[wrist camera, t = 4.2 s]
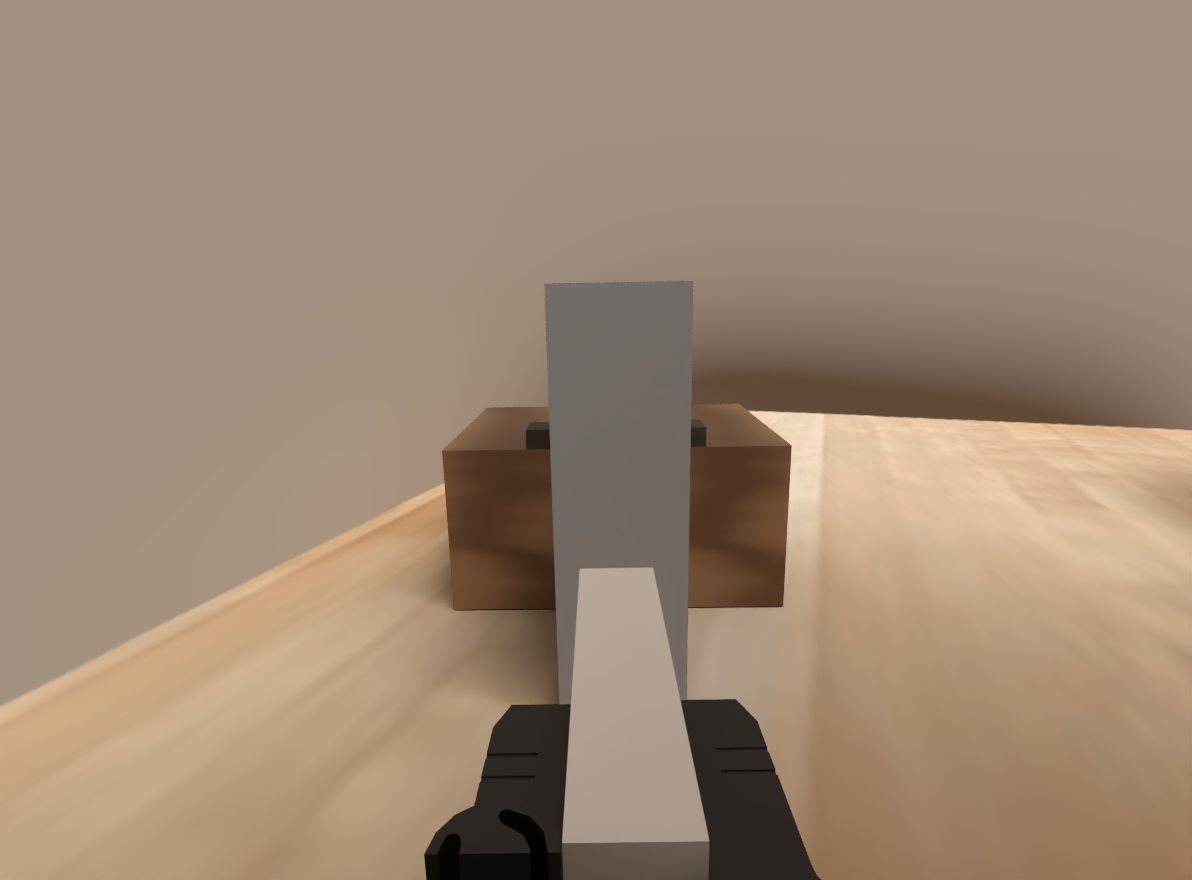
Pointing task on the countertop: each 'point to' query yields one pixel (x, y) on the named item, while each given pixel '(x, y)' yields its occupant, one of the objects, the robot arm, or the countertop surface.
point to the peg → (620, 445)
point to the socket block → (525, 519)
